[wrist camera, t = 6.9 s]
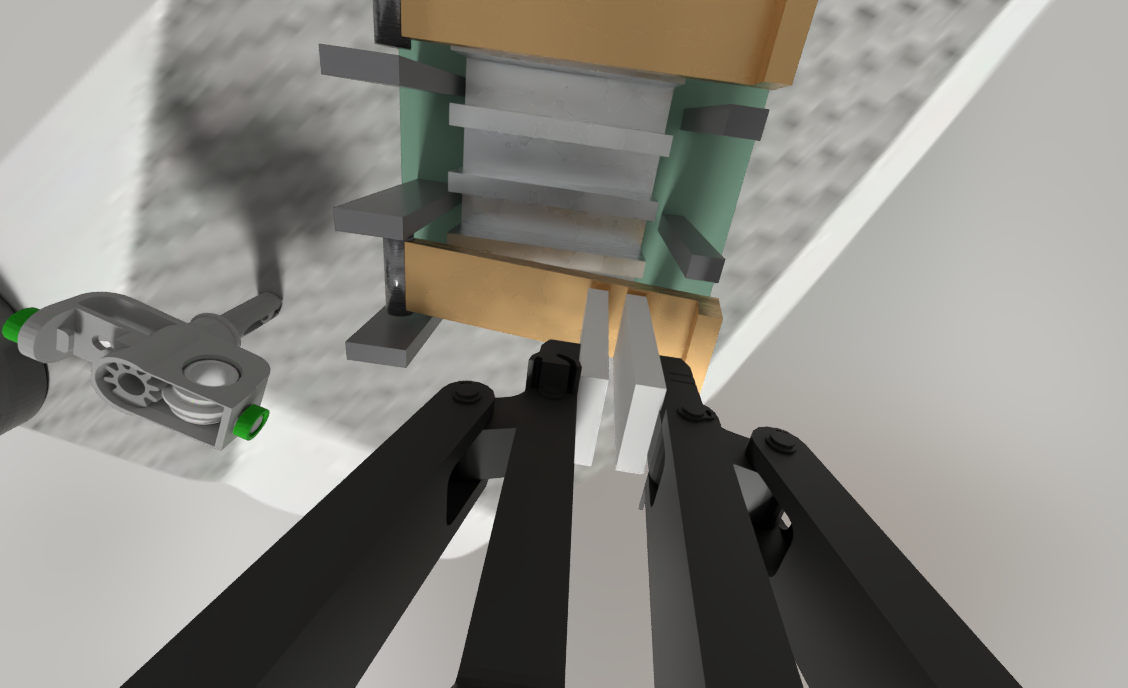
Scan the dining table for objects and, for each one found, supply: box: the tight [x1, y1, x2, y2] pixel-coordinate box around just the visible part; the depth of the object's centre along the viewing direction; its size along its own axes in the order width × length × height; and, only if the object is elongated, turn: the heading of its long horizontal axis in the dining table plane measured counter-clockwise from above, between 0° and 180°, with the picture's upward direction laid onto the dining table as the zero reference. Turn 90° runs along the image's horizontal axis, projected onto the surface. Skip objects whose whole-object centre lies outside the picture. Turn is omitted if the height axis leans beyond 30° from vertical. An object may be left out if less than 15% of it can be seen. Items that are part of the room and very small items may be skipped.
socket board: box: [399, 40, 769, 297], centre depth 23 cm, size 17×17×2 cm
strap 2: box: [383, 234, 723, 395], centre depth 18 cm, size 14×4×2 cm, turn 83°
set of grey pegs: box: [319, 44, 770, 368], centre depth 19 cm, size 14×16×8 cm
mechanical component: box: [2, 292, 281, 451], centre depth 24 cm, size 3×10×10 cm, turn 61°
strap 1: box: [373, 0, 818, 90], centre depth 14 cm, size 14×4×2 cm, turn 83°
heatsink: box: [447, 46, 686, 281], centre depth 21 cm, size 9×15×4 cm, turn 173°
